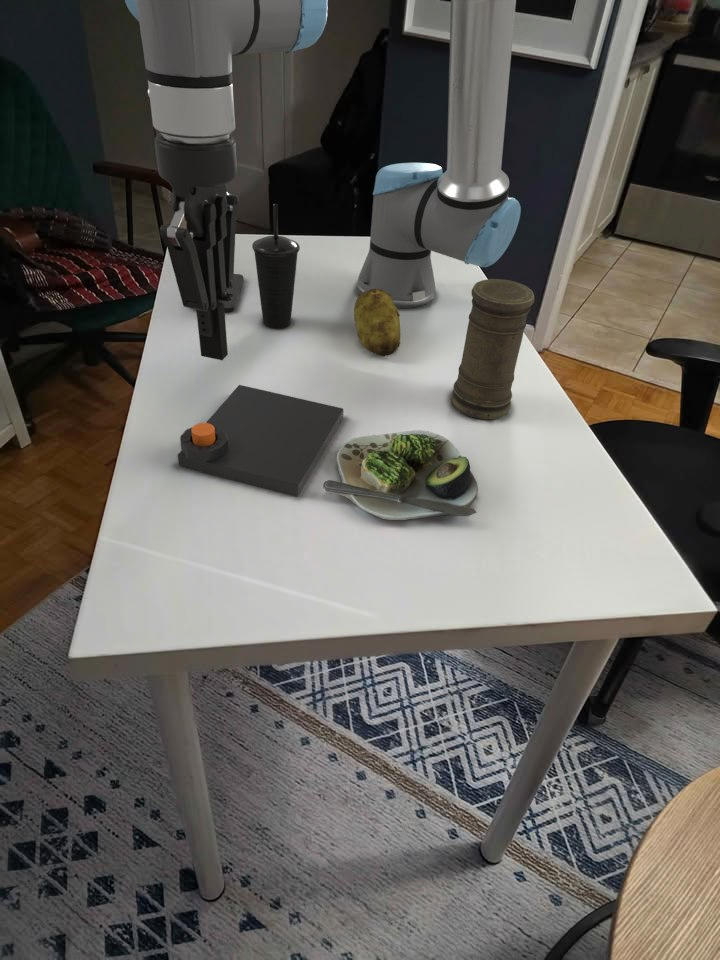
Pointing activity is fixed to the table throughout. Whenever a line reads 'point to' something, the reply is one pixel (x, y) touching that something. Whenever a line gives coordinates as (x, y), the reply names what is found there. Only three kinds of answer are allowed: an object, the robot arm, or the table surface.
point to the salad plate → (405, 476)
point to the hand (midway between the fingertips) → (214, 355)
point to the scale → (264, 440)
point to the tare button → (203, 434)
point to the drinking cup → (276, 276)
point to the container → (491, 348)
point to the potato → (377, 322)
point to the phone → (234, 292)
